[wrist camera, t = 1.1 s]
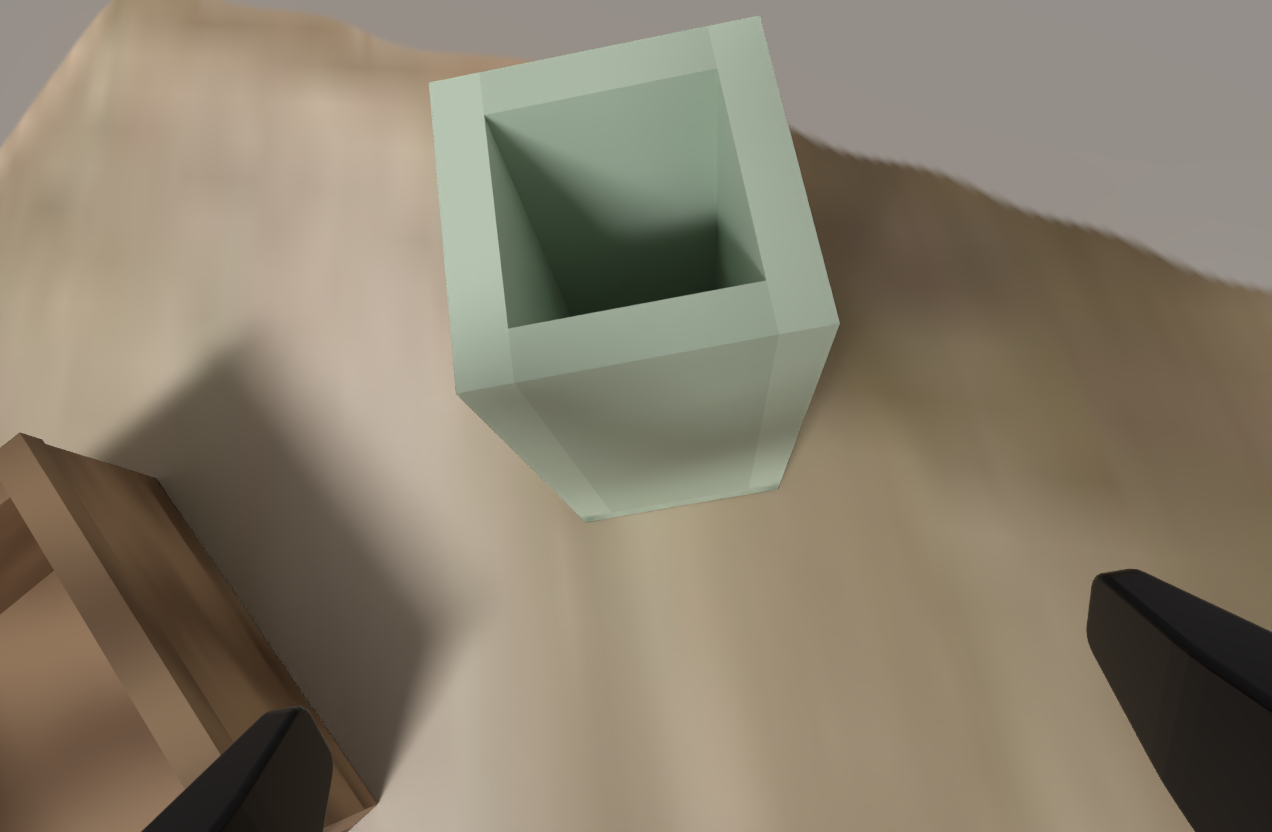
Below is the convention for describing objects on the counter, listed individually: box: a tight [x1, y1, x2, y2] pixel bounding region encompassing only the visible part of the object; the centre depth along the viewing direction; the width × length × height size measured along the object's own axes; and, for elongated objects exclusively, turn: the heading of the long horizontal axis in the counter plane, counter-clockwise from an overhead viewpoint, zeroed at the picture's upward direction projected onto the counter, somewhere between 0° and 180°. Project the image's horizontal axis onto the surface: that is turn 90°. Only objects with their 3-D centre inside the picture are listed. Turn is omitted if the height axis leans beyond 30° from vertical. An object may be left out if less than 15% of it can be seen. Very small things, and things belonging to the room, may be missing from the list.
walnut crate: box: [0, 433, 377, 832], centre depth 20 cm, size 13×13×5 cm
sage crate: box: [429, 16, 840, 522], centre depth 18 cm, size 6×6×12 cm
